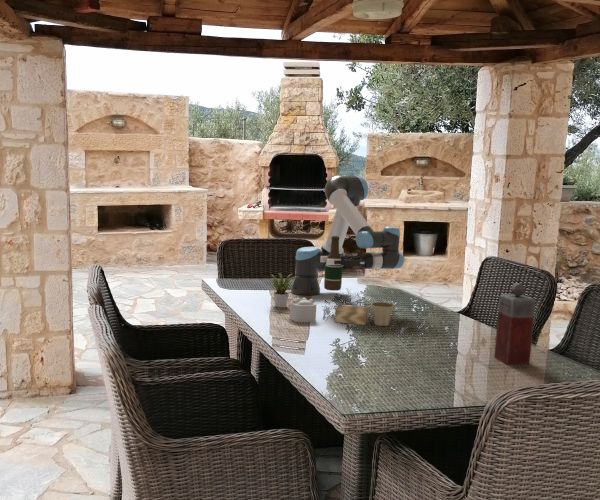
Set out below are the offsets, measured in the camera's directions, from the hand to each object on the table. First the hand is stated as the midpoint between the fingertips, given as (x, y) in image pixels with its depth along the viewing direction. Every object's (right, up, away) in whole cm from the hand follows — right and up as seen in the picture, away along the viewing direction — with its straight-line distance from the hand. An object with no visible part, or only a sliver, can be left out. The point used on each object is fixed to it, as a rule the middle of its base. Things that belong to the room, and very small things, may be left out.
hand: (323, 260), depth 298 cm
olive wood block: (+12, -26, -9) cm, 30 cm away
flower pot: (+24, -27, -15) cm, 39 cm away
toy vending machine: (+64, -35, -59) cm, 94 cm away
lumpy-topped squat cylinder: (-10, -25, -11) cm, 29 cm away
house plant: (-18, -22, +12) cm, 31 cm away
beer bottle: (+4, -13, +3) cm, 14 cm away
